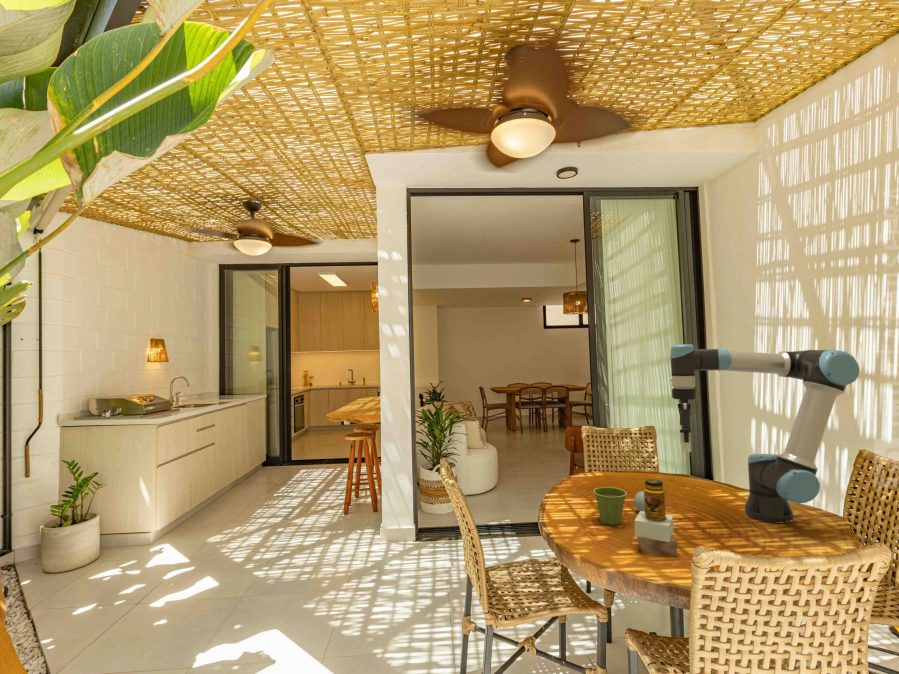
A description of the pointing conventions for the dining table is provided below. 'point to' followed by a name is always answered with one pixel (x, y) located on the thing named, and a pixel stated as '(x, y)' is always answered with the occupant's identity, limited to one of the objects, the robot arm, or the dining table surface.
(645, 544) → the walnut block
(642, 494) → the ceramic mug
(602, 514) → the plant pot
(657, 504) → the condiment
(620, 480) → the dining table surface
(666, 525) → the sage block
